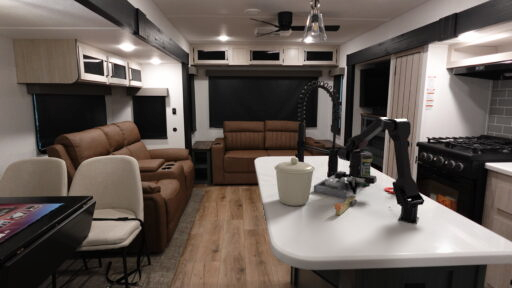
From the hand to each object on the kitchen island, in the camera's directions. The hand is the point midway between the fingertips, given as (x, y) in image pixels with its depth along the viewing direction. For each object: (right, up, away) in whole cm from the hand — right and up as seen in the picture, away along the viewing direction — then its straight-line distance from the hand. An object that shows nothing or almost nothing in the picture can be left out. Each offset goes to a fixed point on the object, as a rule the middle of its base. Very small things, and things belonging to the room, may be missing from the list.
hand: (354, 194), depth 140 cm
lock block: (-8, 0, +7) cm, 10 cm away
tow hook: (+22, 0, +6) cm, 23 cm away
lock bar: (-9, -3, -16) cm, 19 cm away
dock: (-8, 0, +1) cm, 8 cm away
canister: (-31, -2, -9) cm, 32 cm away
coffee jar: (+10, +2, +18) cm, 20 cm away
